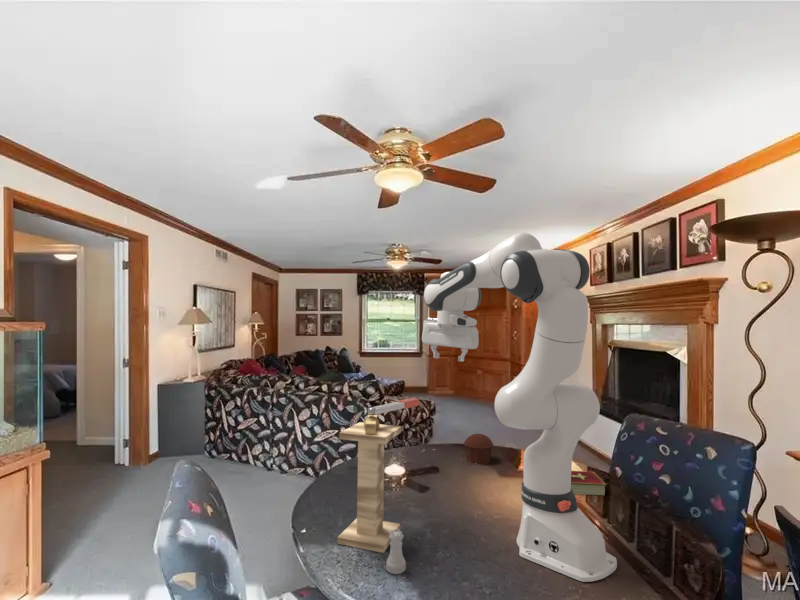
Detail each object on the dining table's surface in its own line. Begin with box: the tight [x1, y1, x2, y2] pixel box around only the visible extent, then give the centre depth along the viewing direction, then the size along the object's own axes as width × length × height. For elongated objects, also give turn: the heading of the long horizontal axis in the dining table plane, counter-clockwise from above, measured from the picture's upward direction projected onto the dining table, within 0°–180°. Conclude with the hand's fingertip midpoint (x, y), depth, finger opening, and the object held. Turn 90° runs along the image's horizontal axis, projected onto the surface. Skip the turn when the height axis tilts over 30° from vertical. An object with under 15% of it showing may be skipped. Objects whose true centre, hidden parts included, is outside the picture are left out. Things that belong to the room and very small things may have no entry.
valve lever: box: [367, 397, 420, 416], centre depth 118 cm, size 19×3×2 cm, turn 141°
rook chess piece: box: [385, 529, 407, 575], centre depth 96 cm, size 4×4×8 cm
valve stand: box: [336, 414, 403, 554], centre depth 111 cm, size 12×12×30 cm
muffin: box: [463, 433, 494, 465], centre depth 171 cm, size 12×11×10 cm
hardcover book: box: [571, 470, 607, 496], centre depth 145 cm, size 12×21×4 cm, turn 84°
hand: (448, 359), depth 150 cm, fingers open, 8 cm apart
